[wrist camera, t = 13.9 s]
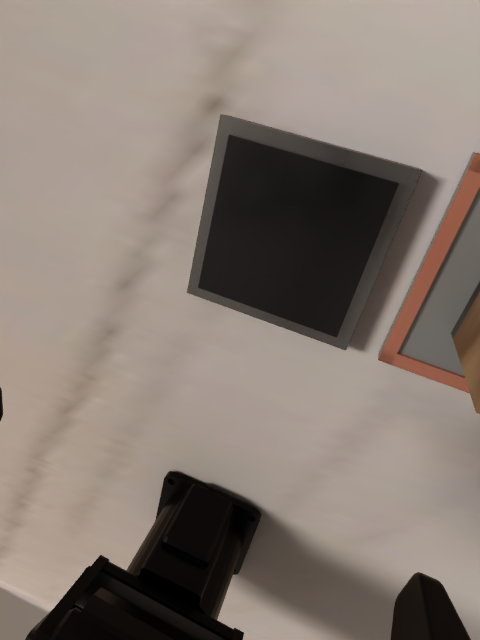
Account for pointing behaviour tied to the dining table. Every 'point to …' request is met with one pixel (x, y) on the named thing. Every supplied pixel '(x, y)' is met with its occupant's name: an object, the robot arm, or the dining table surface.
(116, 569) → the robot arm
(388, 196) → the pad
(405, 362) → the tile
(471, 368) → the stamp
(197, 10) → the dining table surface
